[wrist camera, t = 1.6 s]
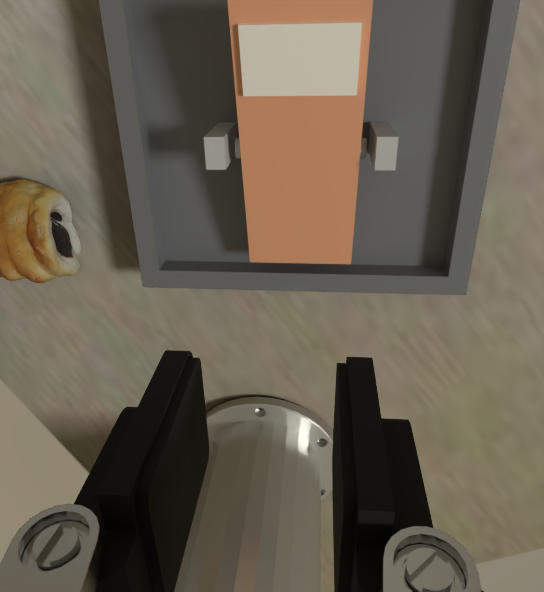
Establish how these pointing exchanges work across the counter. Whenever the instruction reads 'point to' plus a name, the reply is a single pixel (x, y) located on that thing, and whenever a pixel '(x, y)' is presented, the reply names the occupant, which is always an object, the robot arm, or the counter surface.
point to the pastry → (36, 233)
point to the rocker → (300, 123)
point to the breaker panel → (372, 170)
